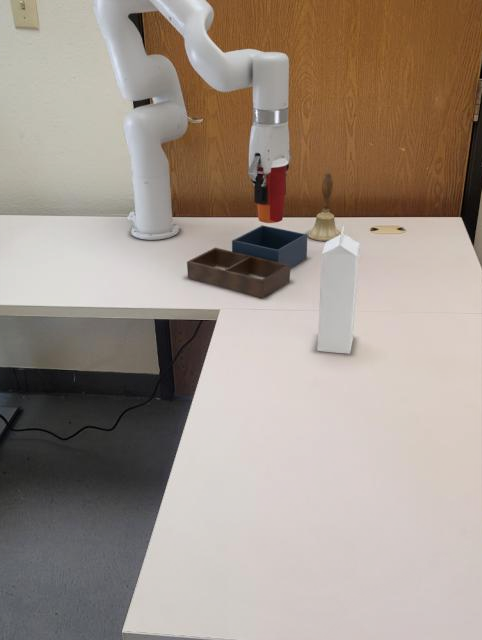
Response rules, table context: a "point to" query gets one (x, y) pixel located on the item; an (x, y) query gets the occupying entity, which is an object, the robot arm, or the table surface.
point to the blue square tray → (273, 245)
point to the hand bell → (325, 215)
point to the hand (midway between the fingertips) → (270, 198)
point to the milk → (338, 294)
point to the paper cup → (274, 192)
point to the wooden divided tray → (239, 272)
